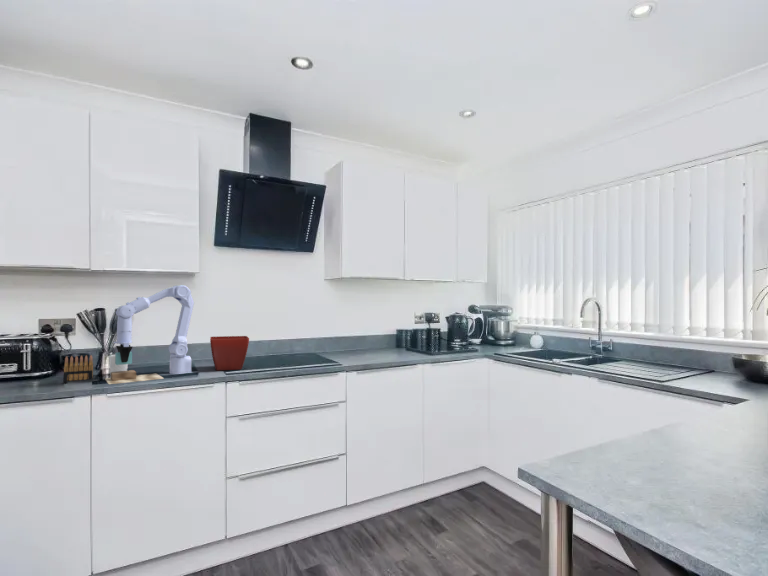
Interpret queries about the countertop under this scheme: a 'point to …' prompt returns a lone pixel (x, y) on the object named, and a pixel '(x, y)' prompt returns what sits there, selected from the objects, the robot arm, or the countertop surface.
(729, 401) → the countertop surface
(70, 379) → the ammunition clip
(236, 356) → the plant pot
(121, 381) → the birch board
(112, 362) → the white cup
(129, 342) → the robot arm
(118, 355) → the teal brick
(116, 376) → the walnut base block
